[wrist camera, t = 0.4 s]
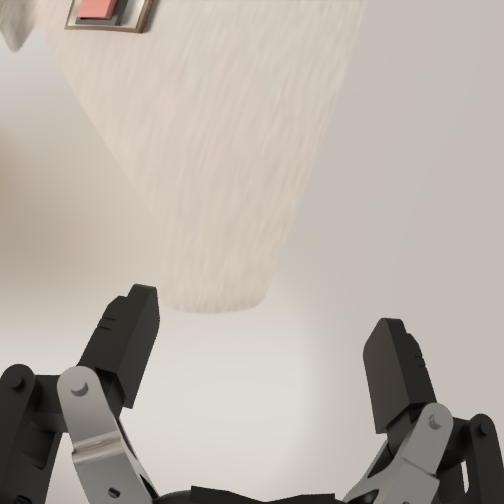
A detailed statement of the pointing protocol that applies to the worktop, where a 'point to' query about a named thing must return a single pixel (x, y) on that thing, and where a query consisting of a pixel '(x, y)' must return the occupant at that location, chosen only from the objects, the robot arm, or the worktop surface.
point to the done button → (97, 8)
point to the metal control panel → (124, 17)
